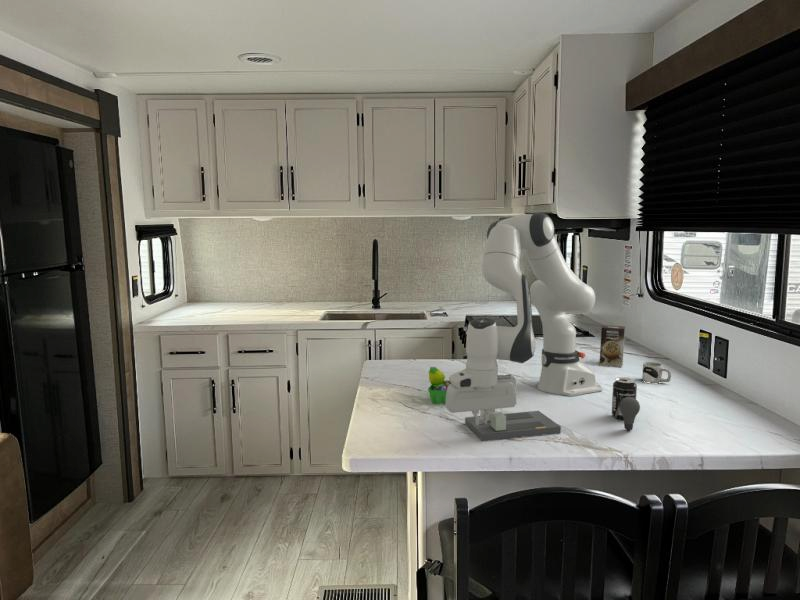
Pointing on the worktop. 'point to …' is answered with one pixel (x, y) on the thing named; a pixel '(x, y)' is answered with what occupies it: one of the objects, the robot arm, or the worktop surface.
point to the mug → (654, 372)
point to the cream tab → (484, 412)
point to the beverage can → (622, 394)
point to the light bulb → (629, 411)
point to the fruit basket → (437, 385)
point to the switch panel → (515, 426)
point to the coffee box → (612, 346)
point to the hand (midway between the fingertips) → (481, 424)
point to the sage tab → (498, 421)
